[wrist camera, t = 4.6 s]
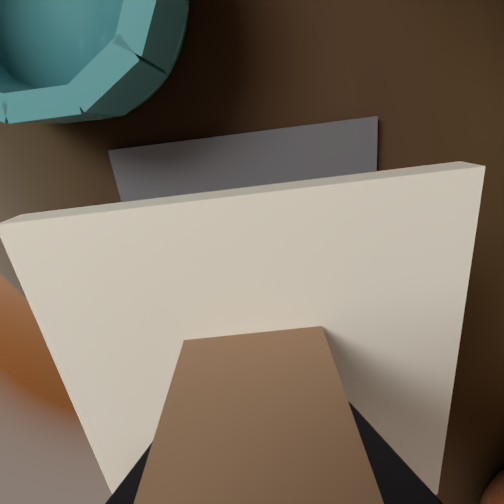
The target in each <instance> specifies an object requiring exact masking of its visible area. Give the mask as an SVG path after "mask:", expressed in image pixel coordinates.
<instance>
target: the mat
mask: <svg viewBox="0 0 504 504" xmlns="http://www.w3.org/2000/svg"><path fill="white" fill-rule="evenodd" d="M377 136H378V116H373V117H366V118H358V119H350V120H342V121H334V122H326V123H318V124H311V125H303V126H295V127H287V128H279V129H271V130H264V131H256V132H248V133H240V134H232V135H224V136H216V137H209V138H201V139H193V140H185V141H177V142H169V143H162V144H154V145H146V146H138V147H130V148H122V149H114V150H108V154H109V158H110V161H111V165H112V169H113V172H114V176H115V180H116V183H117V187H118V191H119V194H120V198H121V201H122V202H128V201H136V200H145V199H153V198H161V197H169V196H178V195H186V194H194V193H202V192H211V191H219V190H227V189H235V188H244V187H252V186H260V185H269V184H277V183H285V182H293V181H302V180H310V179H318V178H326V177H335V176H343V175H351V174H360V173H368V172H376V171H377Z"/></svg>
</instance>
